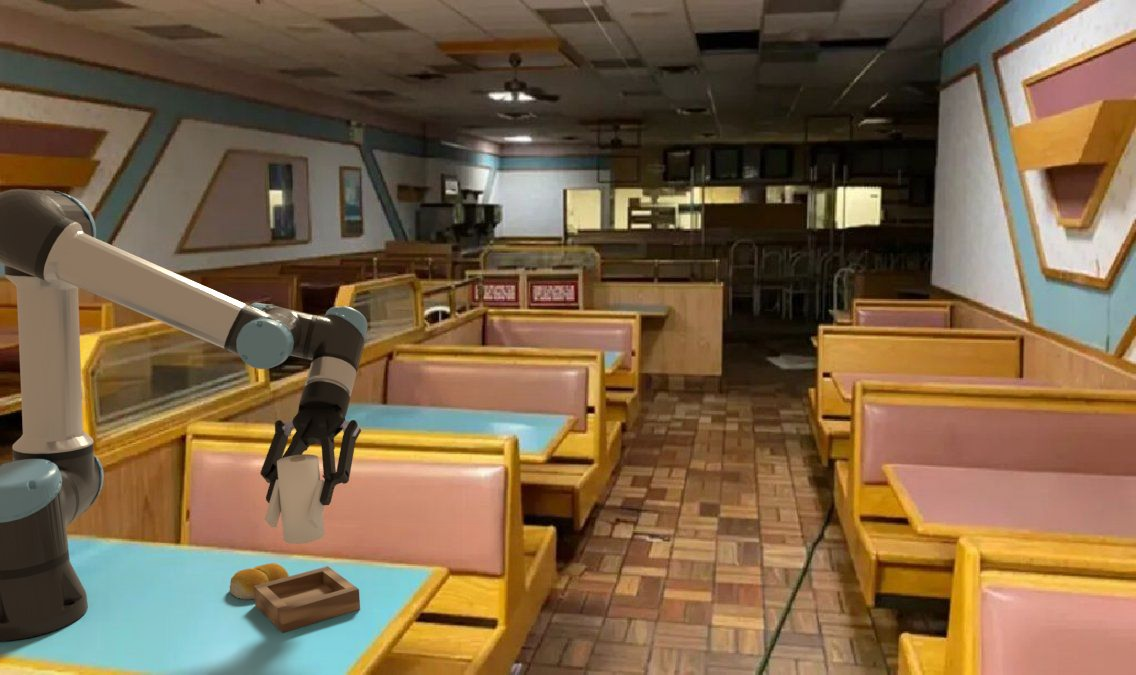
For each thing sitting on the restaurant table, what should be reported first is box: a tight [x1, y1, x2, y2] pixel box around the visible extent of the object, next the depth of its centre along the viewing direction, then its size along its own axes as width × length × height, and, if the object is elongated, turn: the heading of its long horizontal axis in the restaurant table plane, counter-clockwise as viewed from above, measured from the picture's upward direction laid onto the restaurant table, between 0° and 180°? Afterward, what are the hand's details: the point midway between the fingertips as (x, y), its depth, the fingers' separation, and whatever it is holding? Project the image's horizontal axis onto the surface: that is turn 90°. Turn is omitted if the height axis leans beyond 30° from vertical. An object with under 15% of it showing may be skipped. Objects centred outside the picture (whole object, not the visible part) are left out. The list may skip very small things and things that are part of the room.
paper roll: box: [277, 453, 325, 545], centre depth 140 cm, size 6×6×12 cm
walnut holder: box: [254, 565, 361, 633], centre depth 142 cm, size 12×12×3 cm
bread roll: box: [229, 562, 289, 600], centre depth 150 cm, size 8×9×4 cm
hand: (291, 523), depth 136 cm, fingers closed on paper roll, 6 cm apart
